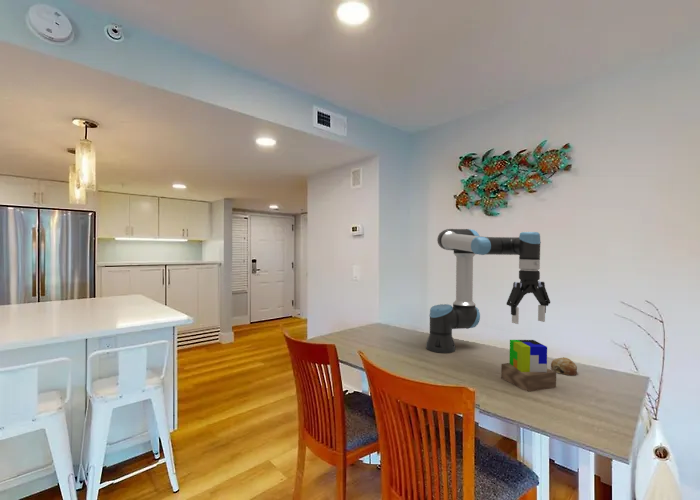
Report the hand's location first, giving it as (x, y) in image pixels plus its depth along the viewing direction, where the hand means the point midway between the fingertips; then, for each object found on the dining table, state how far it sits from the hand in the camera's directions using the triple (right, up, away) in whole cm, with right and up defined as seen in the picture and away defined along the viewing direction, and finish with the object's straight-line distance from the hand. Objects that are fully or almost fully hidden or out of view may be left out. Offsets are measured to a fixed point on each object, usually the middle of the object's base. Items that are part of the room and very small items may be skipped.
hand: (528, 322), depth 139 cm
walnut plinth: (0, -25, 0) cm, 25 cm away
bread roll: (+23, -25, +13) cm, 36 cm away
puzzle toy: (0, -19, 0) cm, 19 cm away
